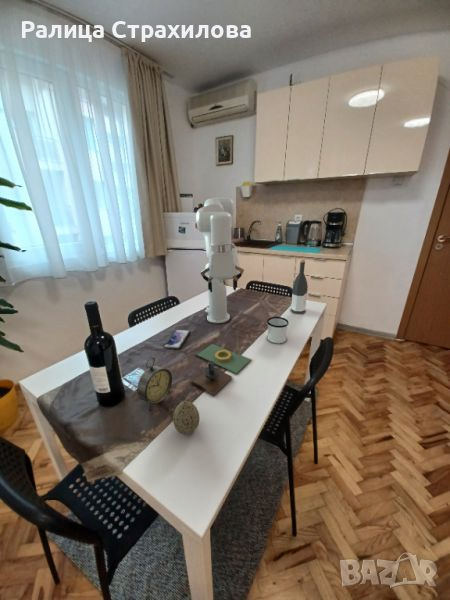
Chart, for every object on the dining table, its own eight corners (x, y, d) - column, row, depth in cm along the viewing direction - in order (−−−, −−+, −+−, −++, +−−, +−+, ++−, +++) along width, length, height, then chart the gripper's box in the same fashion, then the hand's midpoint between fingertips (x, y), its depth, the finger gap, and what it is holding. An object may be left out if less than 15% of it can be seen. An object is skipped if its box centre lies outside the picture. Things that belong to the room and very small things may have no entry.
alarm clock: (150, 415, 72) (141, 371, 66) (138, 407, 74) (128, 365, 68) (175, 391, 80) (169, 351, 74) (163, 386, 83) (157, 346, 77)
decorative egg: (200, 417, 70) (197, 391, 67) (200, 439, 64) (198, 411, 60) (175, 420, 70) (171, 394, 66) (173, 442, 63) (169, 415, 59)
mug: (285, 346, 104) (286, 327, 100) (263, 342, 107) (264, 324, 104) (289, 333, 114) (291, 316, 110) (270, 329, 117) (271, 313, 114)
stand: (192, 383, 84) (190, 364, 81) (210, 368, 91) (209, 350, 88) (214, 395, 78) (212, 376, 75) (231, 378, 85) (231, 360, 82)
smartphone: (163, 346, 104) (176, 329, 118) (164, 348, 105) (176, 331, 118) (179, 347, 103) (189, 330, 117) (179, 349, 103) (190, 331, 117)
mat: (196, 355, 99) (196, 354, 99) (212, 344, 106) (212, 343, 106) (236, 374, 88) (236, 372, 87) (250, 360, 95) (250, 359, 95)
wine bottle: (293, 306, 142) (298, 256, 130) (307, 310, 137) (313, 258, 126) (288, 311, 136) (292, 259, 124) (302, 315, 131) (308, 261, 120)
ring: (212, 358, 96) (211, 355, 96) (221, 350, 101) (221, 348, 100) (224, 363, 93) (224, 361, 92) (234, 355, 97) (234, 353, 97)
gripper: (241, 245, 95) (241, 285, 101) (198, 247, 93) (201, 288, 100) (246, 249, 88) (245, 292, 95) (199, 251, 86) (202, 295, 93)
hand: (222, 290), depth 97 cm, fingers open, 9 cm apart
